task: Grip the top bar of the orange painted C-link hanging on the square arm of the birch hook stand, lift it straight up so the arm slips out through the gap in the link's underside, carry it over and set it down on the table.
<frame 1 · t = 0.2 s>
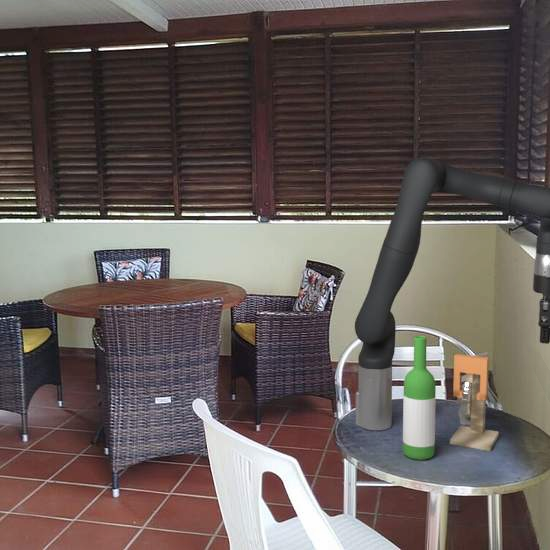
hand: (546, 339, 160), 29 cm above the table, tool pointing down, fingers open, 8 cm apart
cup with straw: (469, 423, 186), on the table
hook stand: (475, 439, 174), on the table
c link: (470, 397, 166), point 13 cm above the table, touching hook stand
wine bottle: (418, 455, 165), on the table
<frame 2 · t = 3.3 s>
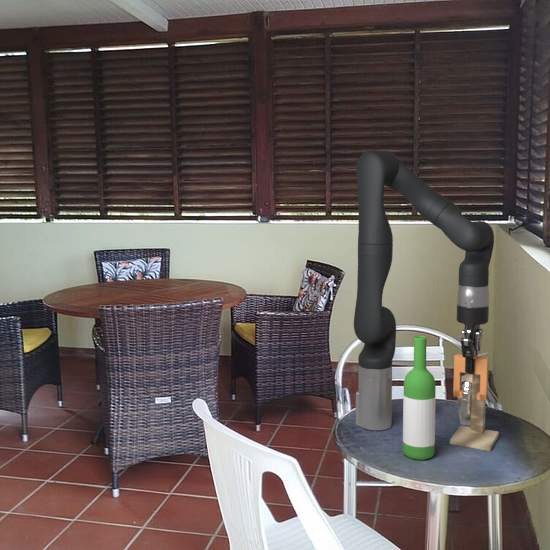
hand: (470, 371, 165), 20 cm above the table, tool pointing down, fingers closed on c link, 2 cm apart
c link: (470, 397, 166), point 13 cm above the table, touching gripper, hook stand
everything else where it was.
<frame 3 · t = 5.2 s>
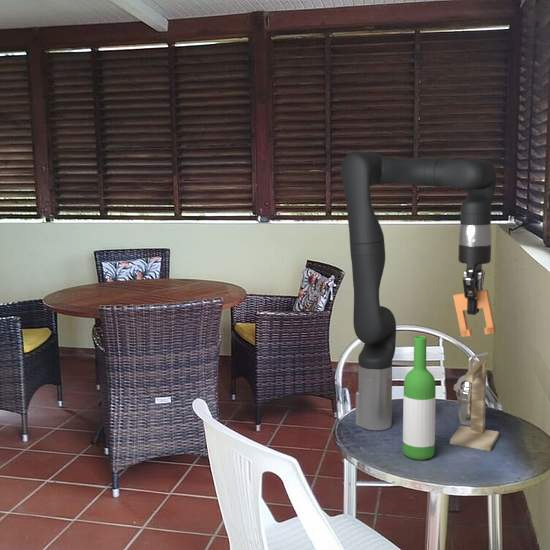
hand: (473, 313, 163), 35 cm above the table, tool pointing down, fingers closed on c link
c link: (478, 334, 163), point 30 cm above the table, tilted 12°, touching gripper
everything else where it was.
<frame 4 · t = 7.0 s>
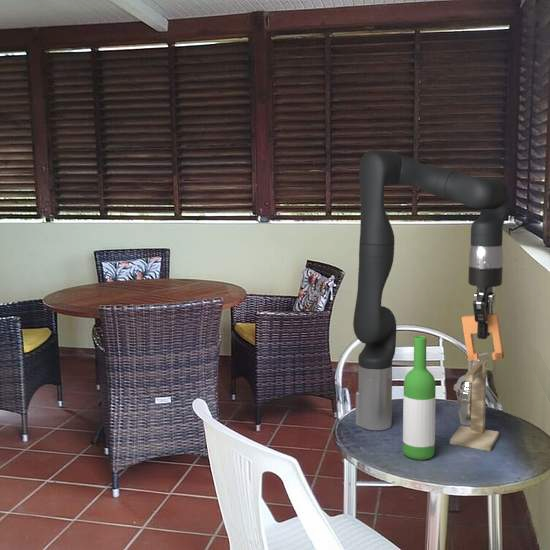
hand: (483, 337, 157), 31 cm above the table, tool pointing down, fingers closed on c link
c link: (486, 358, 157), point 25 cm above the table, tilted 10°, touching gripper
everything else where it was.
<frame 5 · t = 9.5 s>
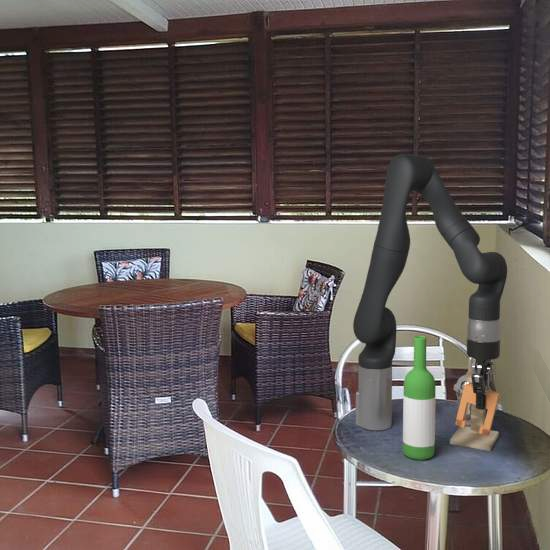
hand: (481, 407, 159), 14 cm above the table, tool pointing down, fingers closed on c link, 2 cm apart
c link: (472, 428, 161), point 8 cm above the table, tilted 11°, touching gripper
everything else where it was.
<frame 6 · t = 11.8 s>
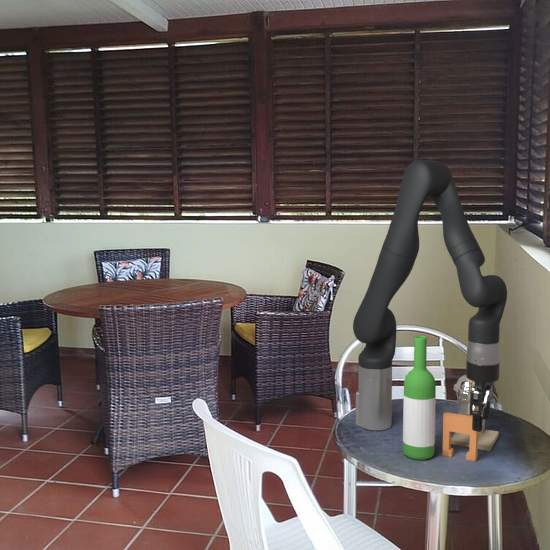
hand: (481, 424, 160), 9 cm above the table, tool pointing down, fingers open, 8 cm apart
c link: (459, 456, 164), on the table
everything else where it was.
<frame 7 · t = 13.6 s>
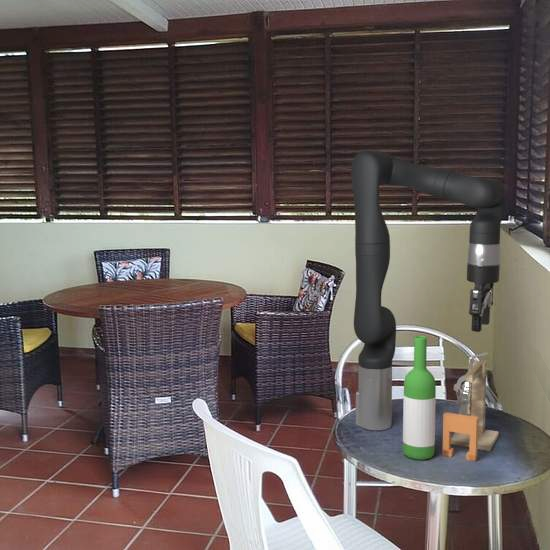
hand: (480, 327, 163), 32 cm above the table, tool pointing down, fingers open, 8 cm apart
nothing on the table moved.
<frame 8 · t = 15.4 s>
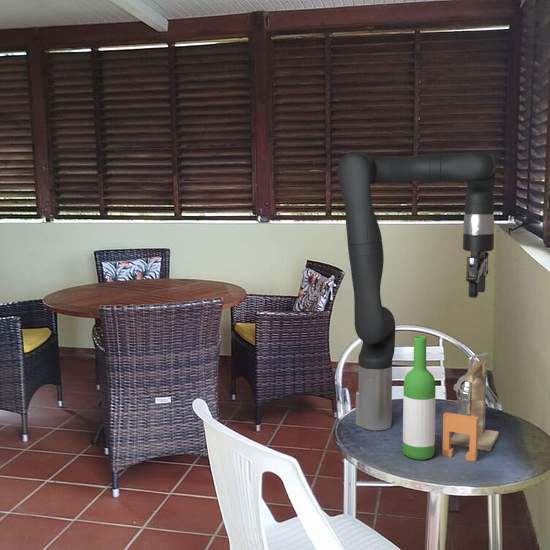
hand: (476, 294, 171), 38 cm above the table, tool pointing down, fingers open, 8 cm apart
nothing on the table moved.
at the end: c link inside the target area (4.9 cm from its centre), on the table; c link touching table; the gripper is holding nothing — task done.
